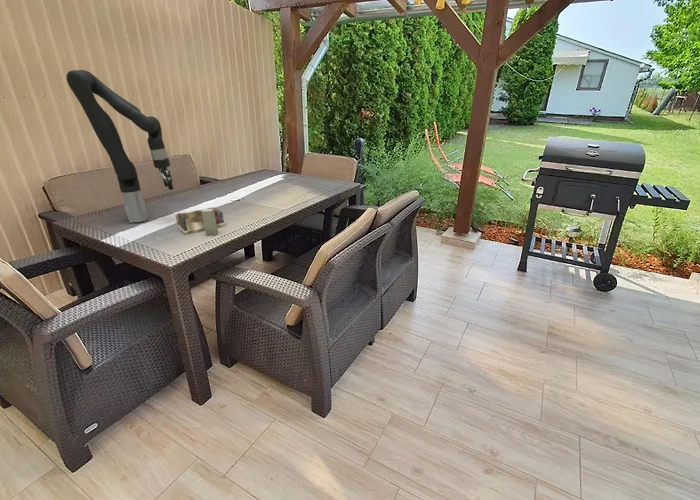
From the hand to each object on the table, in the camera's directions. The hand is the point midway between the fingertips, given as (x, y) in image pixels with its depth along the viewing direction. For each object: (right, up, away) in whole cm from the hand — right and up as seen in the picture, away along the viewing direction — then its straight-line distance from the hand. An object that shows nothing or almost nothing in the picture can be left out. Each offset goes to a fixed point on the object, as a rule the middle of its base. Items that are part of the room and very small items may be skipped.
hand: (169, 187), depth 188 cm
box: (+27, -26, -11) cm, 39 cm away
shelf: (+19, -21, -2) cm, 28 cm away
